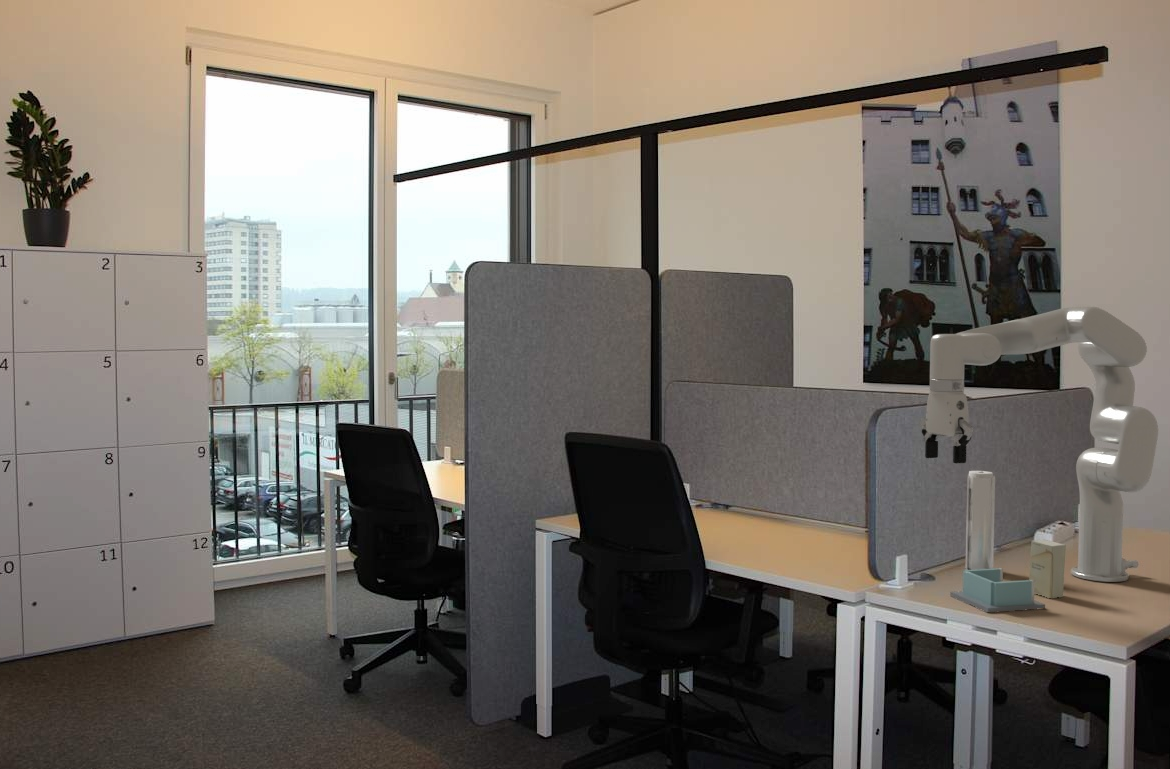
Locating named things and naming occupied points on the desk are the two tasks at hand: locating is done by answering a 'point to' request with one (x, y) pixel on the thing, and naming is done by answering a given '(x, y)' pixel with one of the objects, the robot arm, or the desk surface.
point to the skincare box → (1047, 567)
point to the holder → (996, 591)
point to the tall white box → (980, 520)
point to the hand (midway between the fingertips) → (945, 460)
